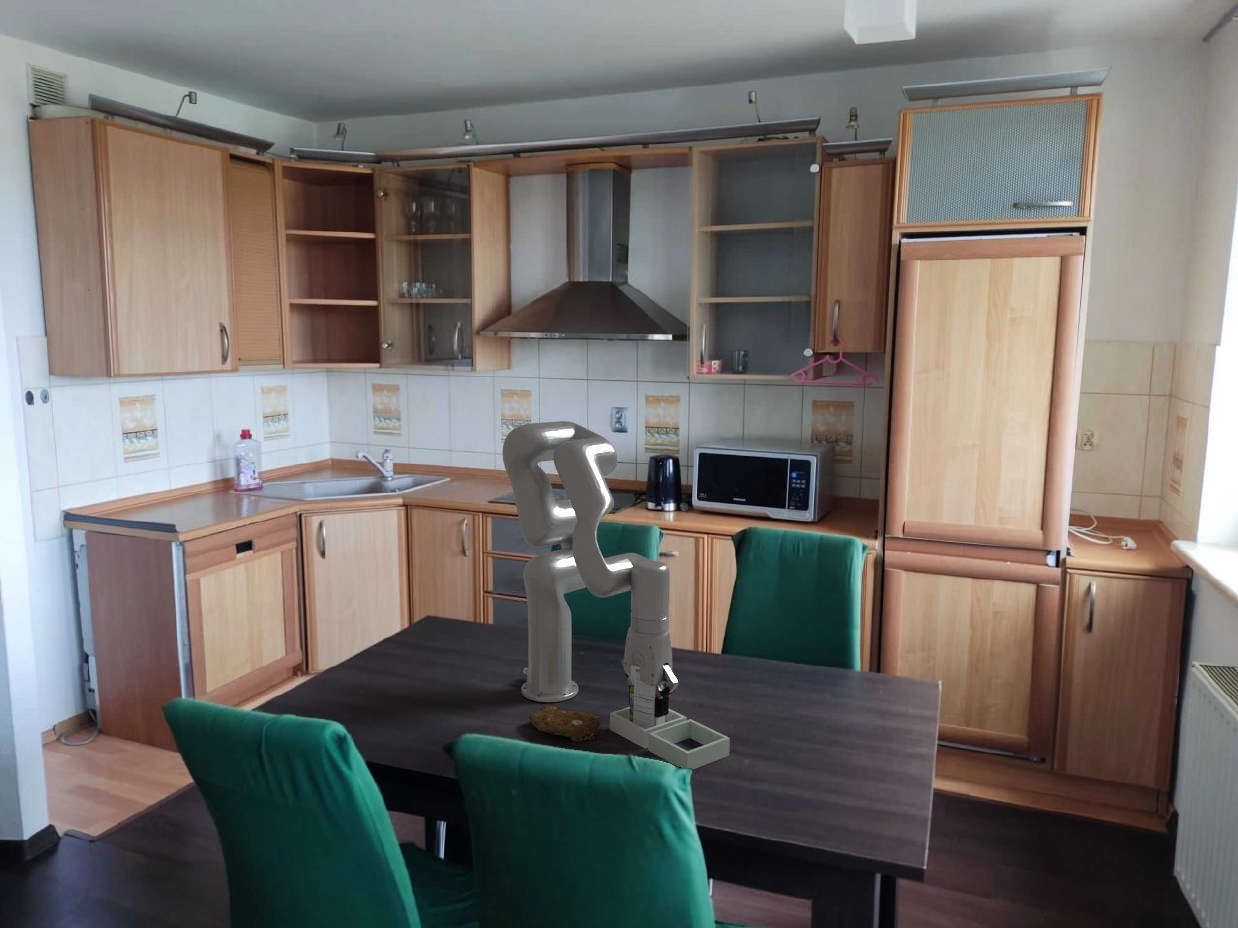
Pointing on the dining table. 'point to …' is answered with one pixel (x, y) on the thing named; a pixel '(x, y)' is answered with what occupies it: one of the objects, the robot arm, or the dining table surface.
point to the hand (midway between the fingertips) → (648, 708)
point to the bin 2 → (710, 752)
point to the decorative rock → (565, 723)
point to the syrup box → (643, 701)
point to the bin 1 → (635, 732)
